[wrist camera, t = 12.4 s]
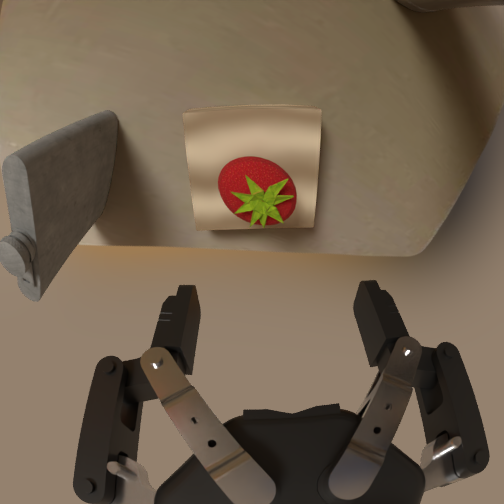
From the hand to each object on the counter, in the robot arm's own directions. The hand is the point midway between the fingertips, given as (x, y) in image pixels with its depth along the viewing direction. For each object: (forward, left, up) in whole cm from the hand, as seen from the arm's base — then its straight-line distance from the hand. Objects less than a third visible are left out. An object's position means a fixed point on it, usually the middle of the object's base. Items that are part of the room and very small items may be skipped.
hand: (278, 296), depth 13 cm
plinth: (+1, -1, -23) cm, 23 cm away
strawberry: (+1, -1, -19) cm, 19 cm away
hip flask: (0, -21, -23) cm, 31 cm away
